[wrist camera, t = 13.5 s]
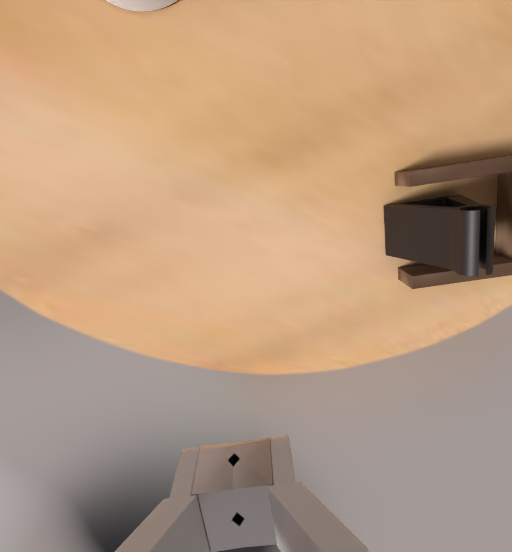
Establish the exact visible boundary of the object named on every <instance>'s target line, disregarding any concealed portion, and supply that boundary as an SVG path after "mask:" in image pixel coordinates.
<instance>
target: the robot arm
mask: <svg viewBox="0 0 512 552" xmlns="http://www.w3.org/2000/svg"><path fill="white" fill-rule="evenodd" d="M106 1H108V2H109V3H111V4H113V5H115V6H118V7H120V8H124V9H127V10H132V11H153V10H158V9H161V8H164V7H166V6H169V5H171V4H173V3H174V2H176V1H177V0H106ZM273 544H277V546H278V548H279V549H280V551H281V552H368V548H367V547H366V546H365V545H364V544H363V543H362V542H361V541H360V540H359V539H358V538H357V537H356V536H355V535H354V534H353V533H352V532H351V531H350V530H349V529H348V528H347V527H346V526H345V525H344V524H343V523H342V522H341V521H340V520H339V519H338V518H337V517H336V516H335V515H334V514H333V513H332V512H331V511H329V509H328V508H327V507H326V506H325V505H324V504H323V503H322V502H321V501H320V500H319V499H318V498H317V497H316V496H315V495H314V494H313V493H312V492H311V491H310V490H308V488H307V487H306V486H305V485H303V483H302V482H295V476H294V469H293V462H292V455H291V449H290V442H289V437H288V435H284V436H278V437H271V439H270V438H266V439H259V440H252V441H244V442H237V443H228V444H218V445H209V446H202V447H194V448H184V449H183V450H182V452H181V454H180V458H179V462H178V466H177V470H176V474H175V478H174V482H173V485H172V490H171V493H170V497H169V499H164V500H163V501H162V502H161V503H160V504H159V505H158V506H157V507H156V508H155V509H154V510H153V511H152V512H151V513H150V514H149V516H148V517H147V518H146V519H145V520H144V521H143V522H142V523H141V524H140V525H139V526H138V527H137V529H135V531H134V532H133V533H132V534H131V535H130V536H129V537H128V538H127V539H126V540H125V541H124V542H123V544H121V546H120V547H119V548H118V549H117V550H116V551H115V552H216V551H222V550H228V549H235V548H241V547H250V546H262V545H273Z"/></svg>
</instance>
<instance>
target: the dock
mask: <svg viewBox="0 0 512 552" xmlns="http://www.w3.org/2000/svg"><path fill="white" fill-rule="evenodd" d="M498 173H499V174H498ZM492 174H498V198H497V221H496V244H495V254H494V255H493V273H492V274H490V275H486V269H482V268H478V276H464V275H460V274H457V273H456V272H454V271H452V270H449V269H446V268H441V267H437V266H432V265H428V264H420V265H413V266H406V267H399V268H398V279H399V280H400V281H402V282H403V283H405V284H406V285H408V286H409V287H410V288H412V289H416V288H423V287H430V286H437V285H444V284H451V283H458V282H465V281H472V280H480V279H487V278H494V277H501V276H508V275H512V155H507V156H500V157H494V158H487V159H480V160H474V161H467V162H460V163H454V164H447V165H440V166H434V167H427V168H420V169H413V170H407V171H400V172H395V186H409V187H411V186H418V185H424V184H431V183H438V182H445V181H451V180H458V179H465V178H472V177H478V176H485V175H492Z"/></svg>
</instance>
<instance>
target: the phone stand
mask: <svg viewBox="0 0 512 552" xmlns="http://www.w3.org/2000/svg"><path fill="white" fill-rule="evenodd" d="M384 224H385V247H386V255H388V256H393V257H397V258H402V259H406V260H410V261H415V262H419V263H424V264H428V265H432V266H437V267H441V268H446V269H449V270H452V271H454V272H456V273H457V274H460V275H464V276H478V268H482V269H486V275H490V274H492V273H493V255H494V231H495V206H490V205H481V204H478V203H476V202H474V201H472V200H470V199H468V198H466V197H464V196H462V195H453V196H446V197H439V198H432V199H425V200H419V201H412V202H405V203H398V204H391V205H385V206H384Z"/></svg>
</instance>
